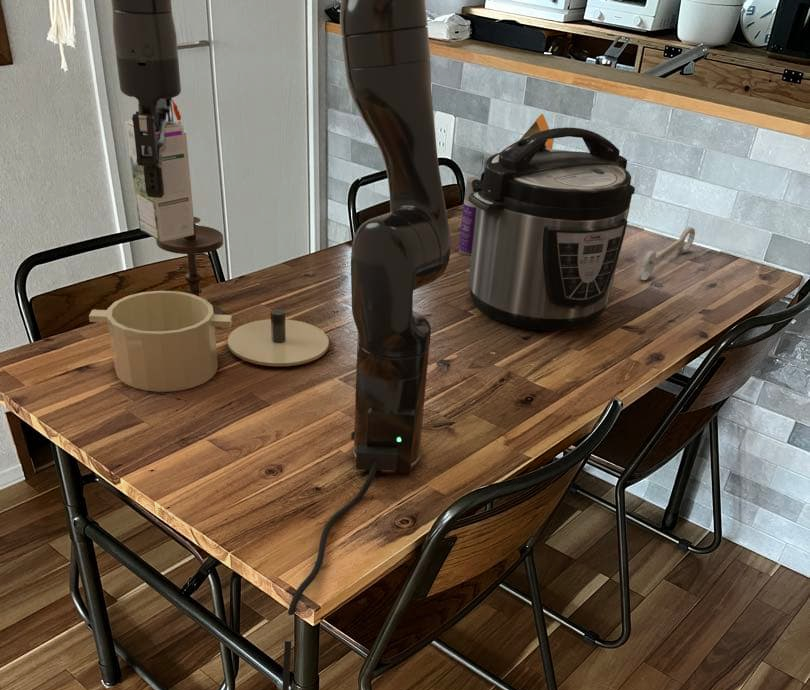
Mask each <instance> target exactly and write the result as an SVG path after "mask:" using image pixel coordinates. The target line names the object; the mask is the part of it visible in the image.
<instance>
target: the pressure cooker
mask: <svg viewBox="0 0 810 690" xmlns="http://www.w3.org/2000/svg"><path fill="white" fill-rule="evenodd" d="M567 137H569V138H571V137H572V138H581V139H582V140H583V142H584V144H585V146H586V149H587V150H588V151H589V152H587V151H571V150H564V149H554V148H552V149H545V148H546V146H545V143H546V142H547V139H553V138H554V139H560V138H567ZM520 139H521V138H520ZM520 139H519V140H517V141H515V142H514V143H512V144H510V145H508V146H507V147H506V148H504V149H503V150H501V151H500V152H498V153H494V154H492V155H491V156H489V157H488V158H487V160H486V161H485V167H484V171H483V172H482V173H481V175H480V177H481V180H478V179H474V180H473V181H472V187H473V192H475V193H471V194H469V199H468V200H469V201H470V202H471V203H472V204H473V205H475V206H476V216H475V226H474V236H473V244H472V253H471V255H470V263H469V272H468V273H469V274H468V281H467V282H468V284H467V285H468V288H469V295H470V298H471V300H472V303H473V304H474V305H475V307H476V308H477V309H478V310H479V311H480V312H481V313H483V314H485V315H486V316H488V317H490V318H492V319H494V320H497V321H499V322H501V323H504V324H507V325H511V326H515V327H519V328H522V329H523V328H524V329H529V330H536V331H537V330H538V331H539V330H540V331H568V330H573V329H578V328H582V327H585V326H589V325H590V324H592V323H594V322H595V321H596V320H598V319H599V317H600V316H601V315H602V314H603V313H604V311H605V310H606V308H607V306H608V303H609V300H610V298H611V297H610V296H611V293H612V292H611V291H612V288H613V283H614V279H615V274H616V270H617V266H618V262H619V257H620V253H621V251H622V246H623V243H624V238H625V234H626V230H627V226H628V218H629V213H630V208H631V202H632V197H633V195H634V194H635V191H636V187H635V186H633V185H632V184H631V183H632V175H631V173H630V172H629V171H628V170H627V165H628V159H627V158H625V157H623V156H622V155H621V154H620V149H619V148H618V147H617V146H616V145H615V144H614V143H612V141H610V140H609V139H607V138H606V137H604V136H603V135H601V134H599V133H597V132H594V131H592V130H589V129H585V128H579V127H554V128H549V130H545V131H541V132H538V133H535V134H532V135H530V136H527V137H525V138H523V139H521V140H520Z"/></svg>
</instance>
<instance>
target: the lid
mask: <svg viewBox="0 0 810 690" xmlns="http://www.w3.org/2000/svg"><path fill="white" fill-rule="evenodd" d="M329 346H330V340H329V336H328V335H327V333H326V332H324V331H323V330H322V329H320V328H319V327H317V326H315V325H313V324H310V323H307V322H304V321H300V320H295V319H286V310H284V309H281V308H273V309H271V310H270V318H269V319H260V320H255V321H251V322H247V323H244V324H242V325H240V326H238V327H236V328H235V329H233V330H232V331H231V332H230V334H229V335H228V337H227V347H228V349H229V351H230V352H231V353H232V354H233V355H234V356H236V357H237V358H238V359H240V360H242V361H245V362H248V363H252V364H255V365H260V366H267V367H291V366H292V367H293V366H299V365H304V364H308V363H311V362H313V361H316V360H318V359H320V358H321V357H322V356H324V355H325V354H326V352H327V351H328V350H329Z"/></svg>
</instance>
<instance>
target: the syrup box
mask: <svg viewBox="0 0 810 690" xmlns="http://www.w3.org/2000/svg"><path fill="white" fill-rule="evenodd" d="M173 121H174V120H173ZM173 121H168V125H167V126H166V127H165V136H166V149H165V150H164V151H163V152H162V166H161V167H162V176H163V186H164V195H163V197H161V198H157V197H149V196H147V194H146V186H145V177H144V169H143V167H142V166H138V163H137V154H136V145H135V136H134V127H133V121H132V119H130V120H125V131H126V137H127V146H128V152H129V160H130V166H131V174H132V182H133V188H134V196H135V205H136V211H137V217H138V225H139V230H140V231H141V232H143V233H145V234H146V235H148V236H150V237H152V238H154V239H155V240H156V239H157V240H159V241H168V240H174V239H178V238H183V237H187V236H191V235H194V227H193V217H192V207H191V197H190V187H189V177H188V167H187V157H186V147H185V137H184V131H185V130H184V129H185V128H184V125H183V124H181V125H180V124H178V123H177V122H175V121H174V122H173ZM159 128H160V127H159ZM144 135H148V134H144ZM159 139H160V130H159V131H158V132H156V141H158V140H159ZM146 156H152V148H151V147H147V149H146Z"/></svg>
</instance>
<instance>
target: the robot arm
mask: <svg viewBox="0 0 810 690" xmlns="http://www.w3.org/2000/svg"><path fill="white" fill-rule="evenodd" d="M110 2H111V7H112V11H111V12H112V34H113V35H112V36H113V43H114V50H115V59H116V67H117V73H118V83H119V89H120V92H121V93H122V94H124V95H125V96H127V97H129V98H131V97H132V98H135V99H136V100H137V102H138V105H137V106H138V110H135V113H132V117H131V120H132V121H133V127H134V136H135V145H136V154H137V163H138V166H142V167H143V169H144V177H145V186H146V194H147V196H149V197H157V198H161V197H163V195H164V186H163V176H162V167H161V166H162V152H163V151H164V150H165V149H166V136H165V127H166V126H167V125H168V121H173V122H175V121H174V113H173V112H174V110H173V103H172V99H174V98H176V97H178V96H179V95H180V94H181V92H182V85H181V74H180V63H179V52H178V40H177V31H176V30H177V29H176V25H175V20H174V16H173V8H172V0H110ZM339 8H340V9H339V27H340V29H339V30H340V36H342V37H341V44H342V53H343V61H344V69H345V70H344V71H345V78H346V84H347V87H348V91H349V93H350V97H351V99H352V101H353V103H354V106H355V108H356V109H357V111H358V113H359V115H360V117H361V118H362V121H363V123H364V124H365V126H366V128H367V129H368V132H369V133H370V135H371V136H372V138H373V140H374V142H375V144H376V146H377V147H378V149H379V152H380V154H381V157H382V159H383V163H384V166H385V171H386V177H387V182H388V193H389V205H390V206H389V207H390V209H389V210H390V211H389V212H387V213H383V214H381V215H378V216H375V217H372V218H369V219H367V220H366V221H364V222H363V223H362V224H361V225H359V227H358V229H357V230H356V231H355V234H354V236H353V241H352V244H351V251H350V289H351V292H350V293H351V312H352V318H353V321H354V325H355V327H356V331H357V339H356V341H357V343H356V363H355V395H354V396H355V397H354V398H355V399H354V428H353V431H352V432H351V435H350V437H351V438H350V442H351V441H353V446H352V457H353V460H354V461H355V470H357V471H358V470H360V471H364V473H365V474H368V476H367V477H366V480H365V481H364V484H363V486H362V487H361V489H360V490H359V492H358V493H357V494H356V495H355V497H353V499H352V500H351V501H350V502H348V503H347V504H345V506H344V507H342V508H341V509H339V510H338V511H337V512H336V513H335V514H334V515H332V516H331V517H330V519H329V520H328V521H327V523H326V525H325V526H324V528H323V530H322V533H321V536H320V540H319V546H318V552H317V558H316V561H315V564H314V566H313V568H312V570H311V571H310V573H309V574H308V576H307V577H306V578H305V579H304V580H303V582H301V583H300V585H299V586H298V588H297V589H296V591H295V592H294V595H293V596H292V599H291V602H290V604H289V607H288V611H287V614H288V615H289V616H293V615H294V614H295V613H296V610H297V606H298V603H299V601H300V599H301V597H302V595H303V594H304V592H305V591H306V589H307V588H308V587H309V586H310V585H311V584H312V582H314V580H315V579H316V578H317V576H318V574H319V573H320V572H319V571H320V570H321V567H322V564H323V560H324V557H325V550H326V544H327V539H328V536H329V534H330V531H331V530H332V527H333V526H334V525H335V523H336V522H337V521H338V520H339V519H340V518H341V517H342V516H343V515H345V514H346V513H347V512H349V511H350V510H351V509H352V508H353V507H354V506H356V505H357V504H358V503H359V502H360V501H361V500H362V498H363V497H364V496H365V494H366V493H367V492H368V490H369V488H370V486H371V484H372V482H373V480H374V478H375V476H376V475H411V473H412V472H411V471H412V469H414V468H415V467H417V466H418V464H419V463H420V461H421V455H422V453H421V452H422V451H421V444H422V435H423V434H422V432H423V422H424V411H425V399H426V388H427V376H428V375H427V374H428V367H429V354H430V346H431V334H432V330H431V329H432V328H431V324H430V321H429V320H428V319H427V318H426V317H425V316H424V315H422V314H420V313H418V312H416V311H414V309H413V308H414V307H413V306H414V304H413V303H414V301H413V300H414V291H416V290H418V289H421V288H422V287H425V286H427V285H429V284H431V283H434V282H435V281H436V280H438V279H439V278H440V277H441V276H442V275H444V273H445V271H446V269H447V267H448V266H449V263H450V257H451V235H450V234H451V233H450V225H449V220H448V214H447V213H448V212H447V208H446V207H447V206H446V202H445V195H444V189H443V184H442V178H441V171H440V165H439V157H438V149H437V135H436V125H435V124H436V123H435V115H434V114H435V113H434V103H433V93H432V75H431V74H432V73H431V71H432V70H431V51H430V39H429V38H430V37H429V27H428V25H429V24H428V16H427V10H426V9H427V6H426V0H340V7H339ZM159 127H160V128H159ZM159 130H160V139H159V140H158V141H156V132H158V131H159ZM144 134H148V135H144ZM147 147H151V148H152V156H146V149H147ZM291 655H292V641H291V640H288V641H287V640H285V641H284V647H283V667H282V690H290V673H291V657H292V656H291Z"/></svg>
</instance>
